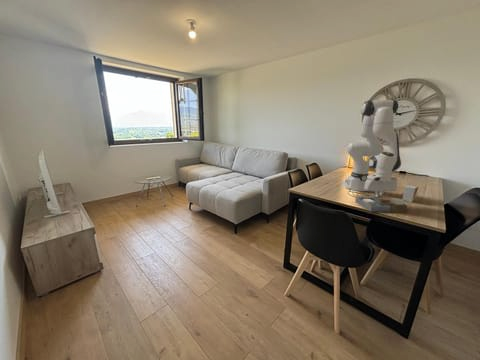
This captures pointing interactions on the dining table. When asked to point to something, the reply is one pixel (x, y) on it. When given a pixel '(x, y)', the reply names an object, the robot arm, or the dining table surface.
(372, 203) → the tile
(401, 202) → the tile
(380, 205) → the bin
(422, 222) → the dining table surface
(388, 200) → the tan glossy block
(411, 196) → the small box
